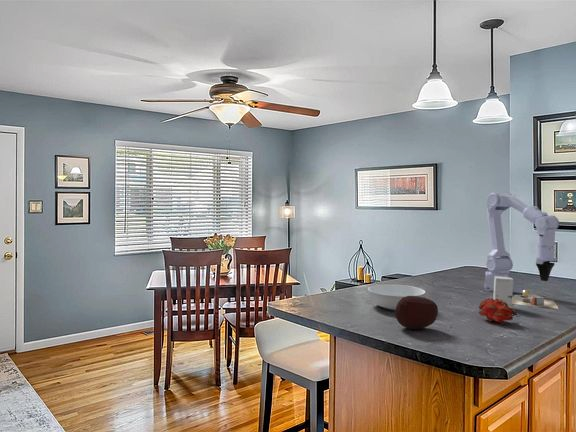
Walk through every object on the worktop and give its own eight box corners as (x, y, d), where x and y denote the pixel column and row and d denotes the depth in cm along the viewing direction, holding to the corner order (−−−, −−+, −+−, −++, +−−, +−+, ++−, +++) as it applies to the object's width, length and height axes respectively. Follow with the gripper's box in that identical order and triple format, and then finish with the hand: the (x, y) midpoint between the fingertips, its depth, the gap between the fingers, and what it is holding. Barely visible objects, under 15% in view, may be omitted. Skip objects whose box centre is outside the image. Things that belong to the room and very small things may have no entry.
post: (522, 300, 178) (522, 290, 178) (522, 299, 180) (522, 289, 180) (530, 301, 177) (531, 291, 176) (530, 299, 179) (530, 290, 179)
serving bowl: (356, 303, 171) (357, 285, 171) (401, 299, 179) (401, 282, 179) (389, 317, 152) (390, 297, 152) (437, 312, 160) (438, 293, 160)
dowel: (530, 305, 170) (530, 297, 170) (530, 304, 171) (530, 296, 171) (534, 305, 170) (535, 297, 169) (534, 304, 171) (534, 297, 171)
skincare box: (494, 310, 164) (495, 277, 163) (492, 307, 168) (493, 276, 168) (512, 312, 162) (513, 279, 162) (510, 309, 166) (511, 277, 166)
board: (507, 305, 172) (507, 303, 172) (506, 297, 187) (506, 295, 187) (558, 310, 165) (558, 308, 165) (553, 302, 180) (553, 300, 180)
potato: (443, 334, 133) (444, 299, 133) (400, 334, 132) (401, 299, 132) (429, 323, 144) (430, 292, 144) (389, 324, 143) (390, 292, 143)
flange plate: (513, 297, 182) (513, 289, 182) (530, 298, 182) (530, 290, 182) (531, 305, 169) (531, 297, 168) (549, 305, 169) (550, 297, 168)
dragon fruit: (475, 321, 154) (513, 334, 146) (472, 311, 148) (510, 323, 140) (484, 300, 157) (521, 311, 149) (480, 289, 151) (518, 300, 143)
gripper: (551, 248, 167) (549, 284, 168) (563, 246, 177) (561, 280, 177) (531, 246, 172) (529, 281, 173) (543, 244, 182) (542, 277, 183)
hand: (544, 280), depth 175 cm, fingers closed
